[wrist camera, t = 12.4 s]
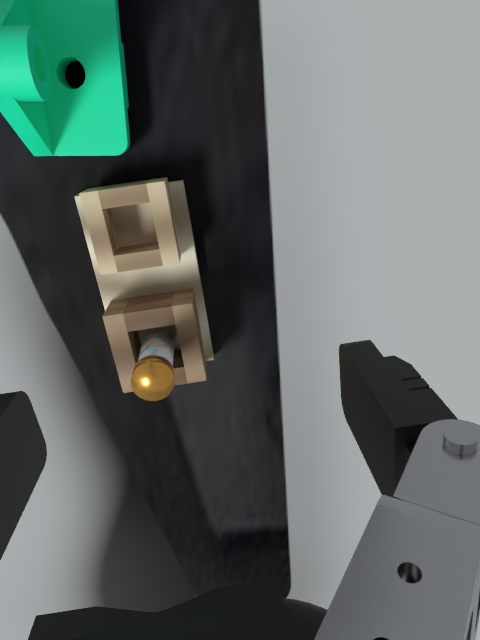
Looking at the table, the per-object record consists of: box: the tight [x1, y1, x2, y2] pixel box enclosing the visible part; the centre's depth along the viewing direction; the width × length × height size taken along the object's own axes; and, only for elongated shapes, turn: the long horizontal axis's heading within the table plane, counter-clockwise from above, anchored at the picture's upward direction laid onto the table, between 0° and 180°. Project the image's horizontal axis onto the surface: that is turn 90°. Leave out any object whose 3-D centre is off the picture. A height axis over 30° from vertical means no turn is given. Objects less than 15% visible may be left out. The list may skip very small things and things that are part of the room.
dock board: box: [75, 177, 214, 393], centre depth 42 cm, size 18×10×5 cm, turn 7°
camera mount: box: [0, 0, 130, 156], centre depth 33 cm, size 12×8×10 cm, turn 0°
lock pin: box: [131, 325, 176, 401], centre depth 41 cm, size 3×3×10 cm
